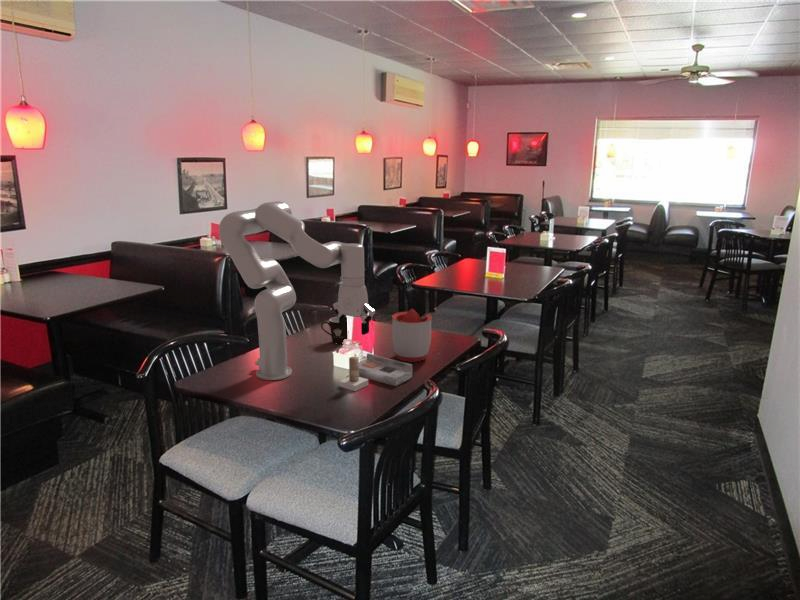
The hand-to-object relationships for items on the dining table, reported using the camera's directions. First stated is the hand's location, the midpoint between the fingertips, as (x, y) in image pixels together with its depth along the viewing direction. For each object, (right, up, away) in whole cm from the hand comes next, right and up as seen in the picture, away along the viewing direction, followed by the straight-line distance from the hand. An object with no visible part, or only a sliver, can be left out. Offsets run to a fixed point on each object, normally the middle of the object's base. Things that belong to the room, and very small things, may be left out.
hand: (354, 331), depth 188 cm
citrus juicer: (+20, -12, +33) cm, 41 cm away
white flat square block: (0, -19, +5) cm, 20 cm away
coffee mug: (-11, -8, +52) cm, 54 cm away
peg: (0, -17, +4) cm, 18 cm away
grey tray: (+9, -17, +14) cm, 24 cm away
